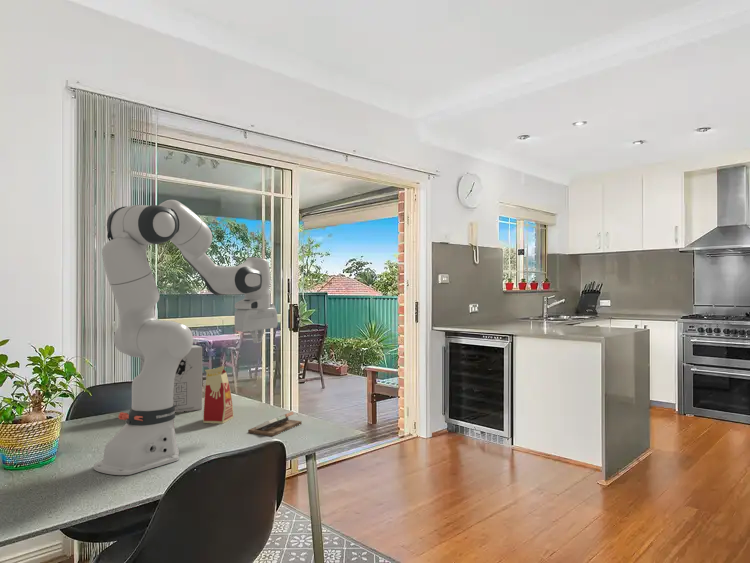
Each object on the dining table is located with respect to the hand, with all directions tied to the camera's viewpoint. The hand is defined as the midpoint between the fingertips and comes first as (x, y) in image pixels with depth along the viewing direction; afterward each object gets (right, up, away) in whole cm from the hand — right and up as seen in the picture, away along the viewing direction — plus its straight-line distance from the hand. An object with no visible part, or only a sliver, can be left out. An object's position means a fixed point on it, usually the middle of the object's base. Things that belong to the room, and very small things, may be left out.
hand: (257, 342), depth 183 cm
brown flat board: (+7, -29, -4) cm, 30 cm away
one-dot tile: (+5, -27, -8) cm, 28 cm away
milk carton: (-16, -29, +7) cm, 34 cm away
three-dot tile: (+9, -27, +1) cm, 28 cm away
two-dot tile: (+7, -27, -4) cm, 28 cm away
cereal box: (-38, -30, +21) cm, 53 cm away
